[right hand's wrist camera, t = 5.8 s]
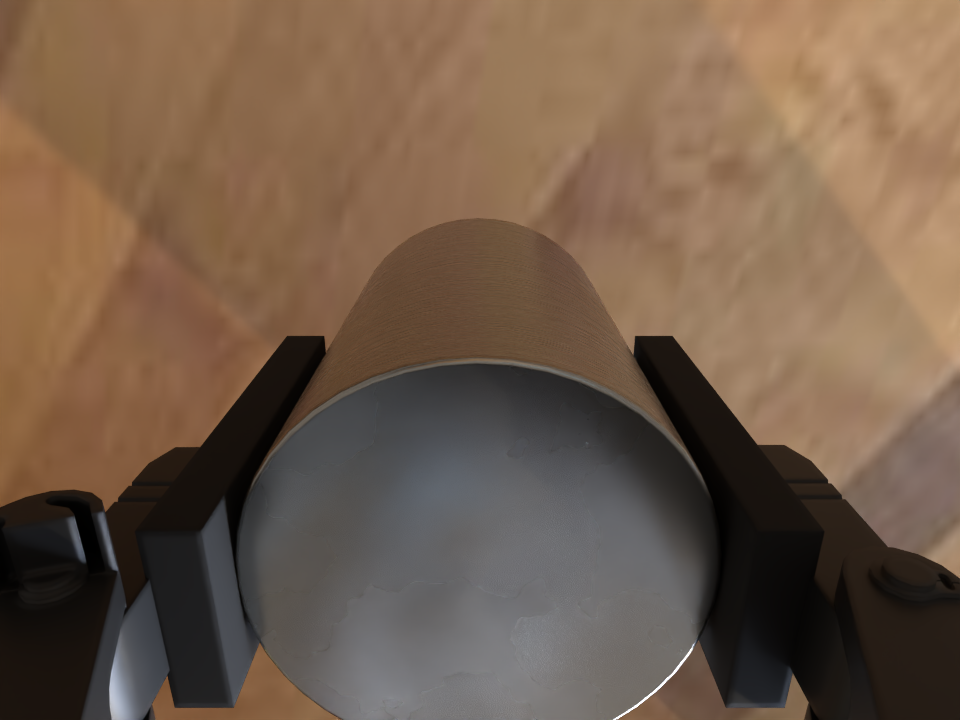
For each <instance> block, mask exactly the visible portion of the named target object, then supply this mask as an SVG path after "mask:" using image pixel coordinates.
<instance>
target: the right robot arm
mask: <svg viewBox="0 0 960 720" xmlns="http://www.w3.org/2000/svg"><path fill="white" fill-rule="evenodd" d="M325 354H326V350H325V339H324V336H287V337H286V338H285V339H284V341H283V342H282V343H281V345H280V346H279V347H278V348H277V350H276V351H275V352H274V354H273V355H272V356H271V357H270V359H269V360H268V361H267V362H266V364H265V365H264V366H263V368H262V369H261V370H260V371H259V373H258V374H257V375H256V377H255V378H254V379H253V380H252V382H251V383H250V384H249V386H248V387H247V388H246V389H245V391H244V392H243V393H242V394H241V396H240V397H239V398H238V400H237V401H236V402H235V403H234V405H233V406H232V407H231V409H230V410H229V411H228V412H227V414H226V415H225V416H224V418H223V419H222V420H221V421H220V423H219V424H218V425H217V426H216V428H215V429H214V430H213V432H212V433H211V434H210V435H209V437H208V438H207V439H206V441H205V442H204V443H203V444H202V446H201V447H175V448H174V449H172V450H170V451H169V452H167V453H165V454H164V455H162V456H160V457H159V458H157V459H155V460H154V461H152V462H150V463H149V464H148V465H147V466H146V467H145V468H144V469H143V470H142V472H141V473H140V474H139V475H138V476H137V477H136V478H135V480H134V481H133V482H132V486H128V487H127V489H126V490H125V491H124V492H123V493H122V494H121V495H120V496H119V498H118V502H114V503H113V504H112V506H111V507H110V508H109V509H108V510H107V511H106V512H105V510H104V506H103V502H102V500H101V499H100V498H98V497H97V496H95V495H94V494H93V493H90V492H84V491H79V490H62V491H50V492H45V493H41V494H37V495H33V496H28V497H25V498H22V499H20V500H17V501H15V502H12V503H10V504H7V505H5V506H2V507H0V720H156V719H155V715H154V711H153V707H152V703H153V701H154V699H155V697H156V695H157V693H158V692H159V690H160V688H161V686H162V684H163V682H164V680H165V678H166V677H167V675H168V680H169V684H170V688H171V693H172V697H173V702H174V706H175V708H234V706H235V703H236V701H237V698H238V695H239V693H240V690H241V688H242V685H243V683H244V680H245V678H246V675H247V673H248V670H249V668H250V665H251V663H252V660H253V658H254V655H255V653H256V650H257V648H258V645H259V643H260V642H259V640H258V638H257V637H256V635H255V633H254V631H253V629H252V627H251V624H250V622H249V620H248V617H247V615H246V613H245V610H244V607H243V603H242V599H241V595H240V591H239V588H238V582H237V572H236V562H235V547H236V532H237V526H238V521H239V517H240V513H241V509H242V505H243V501H244V499H245V497H246V494H247V492H248V489H249V487H250V484H251V482H252V480H253V477H254V475H255V474H256V472H257V470H258V469H259V467H260V465H261V463H262V462H263V460H264V458H265V457H266V455H267V453H268V452H269V450H270V448H271V446H272V445H273V443H274V441H275V440H276V438H277V436H278V434H279V433H280V431H281V429H282V428H283V426H284V424H285V422H286V421H287V419H288V417H289V416H290V414H291V412H292V410H293V409H294V407H295V405H296V404H297V402H298V400H299V399H300V397H301V395H302V393H303V392H304V390H305V388H306V387H307V385H308V383H309V381H310V380H311V378H312V376H313V375H314V373H315V371H316V369H317V368H318V366H319V364H320V363H321V361H322V359H323V357H324V356H325ZM634 358H635V360H636V361H637V363H638V365H639V366H640V368H641V370H642V372H643V373H644V375H645V377H646V379H647V380H648V382H649V384H650V386H651V387H652V389H653V391H654V392H655V394H656V396H657V398H658V399H659V401H660V403H661V405H662V406H663V408H664V410H665V411H666V413H667V415H668V417H669V418H670V420H671V422H672V424H673V425H674V427H675V429H676V431H677V432H678V434H679V436H680V437H681V439H682V441H683V443H684V444H685V446H686V448H687V450H688V451H689V453H690V455H691V457H692V458H693V460H694V462H695V463H696V465H697V467H698V469H699V470H700V472H701V474H702V476H703V478H704V481H705V483H706V485H707V488H708V490H709V492H710V494H711V497H712V499H713V502H714V506H715V510H716V514H717V518H718V522H719V525H720V536H721V547H722V559H721V573H720V582H719V587H718V591H717V595H716V599H715V604H714V607H713V610H712V612H711V615H710V617H709V620H708V622H707V625H706V627H705V630H704V631H703V633H702V635H701V637H700V638H699V641H700V644H701V646H702V649H703V651H704V654H705V656H706V659H707V661H708V664H709V666H710V669H711V672H712V674H713V677H714V679H715V682H716V684H717V687H718V689H719V692H720V694H721V697H722V699H723V702H724V704H725V707H726V708H785V704H786V699H787V695H788V691H789V686H790V682H791V678H792V673H793V674H794V676H795V678H796V680H797V681H798V683H799V685H800V687H801V689H802V691H803V693H804V694H805V696H806V698H807V700H808V702H809V703H808V707H807V711H806V715H805V719H804V720H960V578H958V577H957V576H956V575H954V574H953V573H951V572H950V571H949V570H947V569H946V568H944V567H943V566H942V565H940V564H938V563H935V562H933V561H931V560H929V559H927V558H925V557H922V556H920V555H918V554H915V553H911V552H907V551H904V550H900V549H896V548H891V547H887V546H886V544H885V543H884V542H883V541H882V540H881V539H880V538H879V537H878V535H877V534H876V533H875V532H874V531H873V530H872V529H871V528H870V526H869V525H868V524H867V523H866V522H865V521H864V520H863V519H862V518H861V516H860V515H859V514H858V513H857V512H856V511H855V510H854V509H853V507H852V506H851V505H850V504H849V503H848V502H847V501H846V500H845V499H842V495H841V494H840V493H839V492H838V491H837V489H836V488H835V487H834V486H833V485H832V484H828V479H827V478H826V477H825V476H824V475H823V474H822V473H821V472H820V470H819V469H818V468H817V467H816V466H815V465H814V464H813V463H812V461H810V460H809V459H807V458H805V457H804V456H802V455H800V454H798V453H797V452H795V451H793V450H792V449H790V448H788V447H787V446H785V445H757V444H756V442H755V441H754V440H753V439H752V437H751V436H750V435H749V434H748V432H747V431H746V430H745V428H744V427H743V426H742V425H741V423H740V422H739V421H738V419H737V418H736V417H735V416H734V414H733V413H732V412H731V410H730V409H729V408H728V407H727V405H726V404H725V403H724V401H723V400H722V399H721V398H720V396H719V395H718V394H717V393H716V391H715V390H714V389H713V387H712V386H711V385H710V384H709V382H708V381H707V380H706V378H705V377H704V376H703V375H702V373H701V372H700V371H699V369H698V368H697V367H696V366H695V364H694V363H693V362H692V361H691V359H690V358H689V357H688V355H687V354H686V353H685V352H684V350H683V349H682V348H681V346H680V345H679V344H678V343H677V341H676V340H675V339H674V337H673V336H635V345H634Z"/></svg>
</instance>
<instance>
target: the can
mask: <svg viewBox="0 0 960 720" xmlns="http://www.w3.org/2000/svg"><path fill="white" fill-rule="evenodd" d="M721 559H722V547H721V536H720V525H719V522H718V518H717V514H716V510H715V506H714V502H713V499H712V497H711V494H710V492H709V490H708V488H707V485H706V483H705V481H704V478H703V476H702V474H701V472H700V470H699V469H698V467H697V465H696V463H695V462H694V460H693V458H692V457H691V455H690V453H689V451H688V450H687V448H686V446H685V444H684V443H683V441H682V439H681V437H680V436H679V434H678V432H677V431H676V429H675V427H674V425H673V424H672V422H671V420H670V418H669V417H668V415H667V413H666V411H665V410H664V408H663V406H662V405H661V403H660V401H659V399H658V398H657V396H656V394H655V392H654V391H653V389H652V387H651V386H650V384H649V382H648V380H647V379H646V377H645V375H644V373H643V372H642V370H641V368H640V366H639V365H638V363H637V361H636V360H635V358H634V356H633V354H632V353H631V351H630V349H629V347H628V346H627V344H626V342H625V340H624V339H623V337H622V335H621V334H620V332H619V330H618V328H617V327H616V325H615V323H614V321H613V320H612V318H611V316H610V314H609V313H608V311H607V309H606V308H605V306H604V304H603V302H602V301H601V299H600V297H599V295H598V294H597V292H596V290H595V288H594V287H593V285H592V283H591V282H590V280H589V279H588V277H587V275H586V274H585V272H584V271H583V269H582V268H581V267H580V266H579V264H578V263H577V262H576V261H575V260H574V259H573V257H572V256H571V255H569V254H568V253H567V252H566V251H565V250H564V249H563V248H562V247H560V246H559V245H558V244H556V243H555V242H553V241H552V240H550V239H549V238H547V237H546V236H544V235H542V234H540V233H538V232H536V231H534V230H532V229H530V228H527V227H524V226H521V225H518V224H515V223H512V222H506V221H501V220H496V219H480V218H477V219H463V220H457V221H452V222H447V223H443V224H440V225H437V226H434V227H431V228H429V229H426V230H424V231H422V232H420V233H418V234H416V235H414V236H412V237H411V238H409V239H408V240H406V241H405V242H403V243H402V244H401V245H399V246H398V247H397V248H395V249H394V250H393V251H392V252H391V253H390V254H389V255H388V256H387V257H386V258H385V259H384V260H383V261H382V262H381V264H380V265H379V266H378V267H377V268H376V270H375V271H374V273H373V274H372V276H371V277H370V279H369V281H368V282H367V284H366V286H365V287H364V289H363V291H362V293H361V294H360V296H359V298H358V299H357V301H356V303H355V304H354V306H353V308H352V310H351V311H350V313H349V315H348V316H347V318H346V320H345V322H344V323H343V325H342V327H341V328H340V330H339V332H338V334H337V335H336V337H335V339H334V340H333V342H332V344H331V346H330V347H329V349H328V351H327V352H326V354H325V356H324V357H323V359H322V361H321V363H320V364H319V366H318V368H317V369H316V371H315V373H314V375H313V376H312V378H311V380H310V381H309V383H308V385H307V387H306V388H305V390H304V392H303V393H302V395H301V397H300V399H299V400H298V402H297V404H296V405H295V407H294V409H293V410H292V412H291V414H290V416H289V417H288V419H287V421H286V422H285V424H284V426H283V428H282V429H281V431H280V433H279V434H278V436H277V438H276V440H275V441H274V443H273V445H272V446H271V448H270V450H269V452H268V453H267V455H266V457H265V458H264V460H263V462H262V463H261V465H260V467H259V469H258V470H257V472H256V474H255V475H254V477H253V480H252V482H251V484H250V487H249V489H248V492H247V494H246V497H245V499H244V501H243V505H242V509H241V513H240V517H239V521H238V526H237V532H236V547H235V562H236V572H237V582H238V588H239V591H240V595H241V599H242V603H243V607H244V610H245V613H246V615H247V617H248V620H249V622H250V624H251V627H252V629H253V631H254V633H255V635H256V637H257V638H258V640H259V642H260V643H261V645H262V647H263V648H264V650H265V652H266V653H267V655H268V656H269V657H270V659H271V660H272V661H273V662H274V664H275V665H276V666H277V667H278V669H279V670H280V671H281V672H282V673H283V675H284V676H285V677H286V678H287V679H288V680H289V681H291V682H292V683H293V684H294V685H295V686H296V687H297V688H298V689H299V690H300V691H301V692H302V693H303V694H304V695H306V696H307V697H308V698H310V699H311V700H312V701H314V702H315V703H316V704H318V705H319V706H320V707H322V708H323V709H324V710H326V711H328V712H329V713H331V714H333V715H334V716H336V717H338V718H340V719H341V720H616V719H618V718H619V717H621V716H623V715H624V714H626V713H628V712H629V711H631V710H633V709H634V708H636V707H637V706H638V705H640V704H641V703H642V702H644V701H645V700H646V699H647V698H649V697H650V696H651V695H653V694H654V693H655V692H656V691H657V690H658V689H659V688H660V687H662V686H663V685H664V684H665V683H666V682H667V681H668V680H669V679H670V678H671V677H672V676H673V675H674V674H675V673H676V671H677V670H678V669H679V667H680V666H681V665H682V664H683V662H684V661H685V660H686V659H687V657H688V656H689V655H690V653H691V652H692V650H693V649H694V647H695V645H696V643H697V642H698V640H699V638H700V637H701V635H702V633H703V631H704V630H705V627H706V625H707V622H708V620H709V617H710V615H711V612H712V610H713V607H714V604H715V599H716V595H717V591H718V587H719V582H720V573H721Z"/></svg>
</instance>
